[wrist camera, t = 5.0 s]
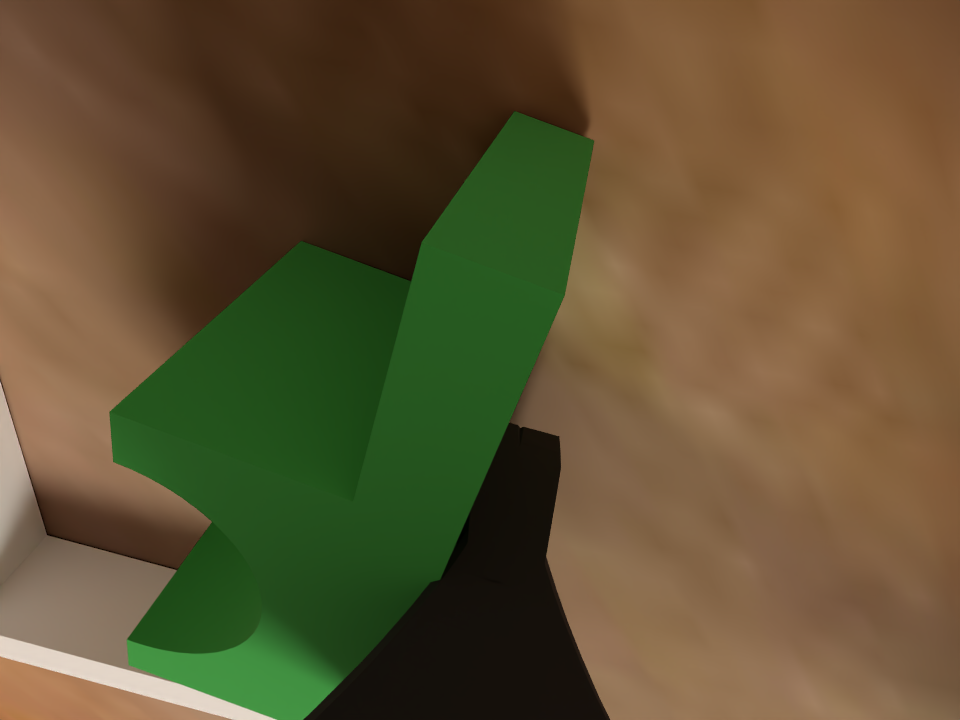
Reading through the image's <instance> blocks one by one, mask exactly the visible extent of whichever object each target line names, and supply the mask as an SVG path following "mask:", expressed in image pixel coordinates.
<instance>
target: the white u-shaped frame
mask: <svg viewBox="0 0 960 720" xmlns="http://www.w3.org/2000/svg"><path fill="white" fill-rule="evenodd" d="M176 571H177V570H174V569H170V568H167V567H163V566H159V565H156V564H152V563H148V562H144V561H141V560H137V559H133V558H130V557H126V556H122V555H118V554H115V553H111V552H107V551H104V550H100V549H96V548H93V547H89V546H85V545H81V544H78V543H74V542H70V541H67V540H63V539H59V538H55V537H52V536H48V535H47V534H46V530H45V527H44V524H43V520H42V517H41V514H40V511H39V507H38V504H37V501H36V497H35V494H34V491H33V488H32V484H31V481H30V478H29V474H28V471H27V468H26V465H25V461H24V458H23V455H22V451H21V448H20V445H19V442H18V438H17V435H16V432H15V428H14V425H13V422H12V419H11V415H10V412H9V409H8V405H7V402H6V399H5V396H4V392H3V389H2V386H1V382H0V656H1V657H4V658H8V659H12V660H15V661H19V662H23V663H26V664H30V665H34V666H37V667H41V668H45V669H49V670H52V671H56V672H60V673H63V674H67V675H71V676H74V677H78V678H82V679H85V680H89V681H93V682H97V683H100V684H104V685H108V686H111V687H115V688H119V689H122V690H126V691H130V692H133V693H137V694H141V695H145V696H148V697H152V698H156V699H159V700H163V701H167V702H170V703H174V704H178V705H181V706H185V707H189V708H193V709H196V710H200V711H204V712H207V713H211V714H215V715H218V716H222V717H226V718H229V719H233V720H276V719H273V718H271V717H268V716H265V715H262V714H260V713H257V712H254V711H252V710H249V709H246V708H243V707H241V706H238V705H235V704H232V703H230V702H227V701H224V700H222V699H219V698H216V697H213V696H211V695H208V694H205V693H203V692H200V691H197V690H194V689H192V688H189V687H186V686H184V685H181V684H178V683H175V682H173V681H170V680H167V679H165V678H162V677H159V676H156V675H154V674H151V673H148V672H146V671H143V670H140V669H137V668H135V667H132V666H129V664H128V651H127V638H128V637H129V636H130V634H131V633H132V632H133V630H134V629H135V627H136V626H137V625H138V623H139V622H140V621H141V619H142V618H143V616H144V615H145V614H146V612H147V611H148V610H149V608H150V607H151V605H152V604H153V603H154V601H155V600H156V599H157V597H158V596H159V594H160V593H161V592H162V590H163V589H164V588H165V586H166V585H167V583H168V582H169V581H170V579H171V578H172V577H173V575H174V574H175V572H176Z"/></svg>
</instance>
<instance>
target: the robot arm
mask: <svg viewBox="0 0 960 720" xmlns="http://www.w3.org/2000/svg"><path fill="white" fill-rule="evenodd" d="M560 470H561V455H560V439H559V436H555V435H552V434H548V433H544V432H541V431H537V430H533V429H530V428H526V427H522V428H520V427H519V426H518V425H515V424H512V423H509V424H508V426H507V428H506V430H505V433H504V435H503V437H502V440H501V442H500V444H499V446H498V449H497V451H496V453H495V456H494V458H493V460H492V462H491V465H490V467H489V469H488V471H487V474H486V476H485V478H484V481H483V483H482V485H481V487H480V490H479V492H478V494H477V497H476V499H475V501H474V503H473V506H472V508H471V510H470V513H469V515H468V517H467V519H466V522H465V524H464V526H463V529H462V531H461V533H460V535H459V538H458V540H457V542H456V544H455V547H454V549H453V551H452V554H451V556H450V558H449V560H448V563H447V565H446V567H445V570H444V572H443V574H442V576H441V579H440V580H438V581H433V582H430V583H429V585H428V586H427V587H426V588H425V589H424V591H423V592H422V593H421V594H420V596H419V597H418V598H417V599H416V601H415V602H414V603H413V604H412V605H411V607H410V608H409V609H408V610H407V611H406V612H405V614H404V615H403V616H402V617H401V618H400V619H399V621H398V622H397V623H396V624H395V625H394V626H393V627H392V629H391V630H390V631H389V632H388V633H387V634H386V635H385V637H384V638H383V639H382V640H381V641H380V642H379V643H378V644H377V645H376V646H375V648H374V649H373V650H372V651H371V652H370V653H369V654H368V655H367V656H366V657H365V658H364V659H363V660H362V662H361V663H360V664H359V665H358V666H357V667H356V668H355V669H354V670H353V671H352V672H351V673H350V674H349V675H348V676H347V677H346V678H345V679H344V680H343V681H342V682H341V683H340V684H339V685H338V686H337V687H336V688H335V689H334V690H333V691H332V692H331V693H330V694H329V695H328V696H327V697H326V698H325V699H324V700H323V701H322V702H321V703H320V704H319V705H318V706H317V707H316V708H315V709H314V710H313V711H312V712H311V713H310V714H309V715H308V716H306V717H305V718H304V719H303V720H610V718H609V716H608V714H607V712H606V710H605V708H604V706H603V704H602V702H601V700H600V698H599V696H598V694H597V691H596V689H595V687H594V684H593V682H592V680H591V677H590V675H589V673H588V670H587V668H586V666H585V664H584V661H583V659H582V657H581V654H580V652H579V649H578V647H577V644H576V642H575V639H574V636H573V634H572V631H571V629H570V626H569V624H568V621H567V618H566V616H565V613H564V610H563V607H562V604H561V601H560V599H559V596H558V593H557V590H556V587H555V583H554V580H553V577H552V574H551V571H550V568H549V564H548V561H547V558H546V553H547V547H548V542H549V536H550V530H551V524H552V518H553V512H554V507H555V501H556V495H557V489H558V483H559V477H560Z"/></svg>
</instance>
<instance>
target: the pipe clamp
mask: <svg viewBox="0 0 960 720" xmlns="http://www.w3.org/2000/svg"><path fill="white" fill-rule="evenodd" d="M593 145H594V140H591V139H589V138H586V137H583V136H581V135H578V134H575V133H572V132H570V131H567V130H564V129H562V128H559V127H556V126H554V125H551V124H548V123H545V122H543V121H540V120H537V119H535V118H532V117H529V116H527V115H524V114H521V113H518V112H516V111H514V113H513V114H512V115H511V117H510V118H509V120H508V121H507V123H506V124H505V125H504V127H503V128H502V130H501V131H500V132H499V134H498V135H497V137H496V138H495V140H494V141H493V142H492V144H491V145H490V147H489V148H488V149H487V151H486V152H485V154H484V155H483V156H482V158H481V159H480V161H479V162H478V164H477V165H476V166H475V168H474V169H473V171H472V172H471V173H470V175H469V176H468V178H467V179H466V180H465V182H464V183H463V185H462V186H461V188H460V189H459V190H458V192H457V193H456V195H455V196H454V197H453V199H452V200H451V202H450V203H449V205H448V206H447V207H446V209H445V210H444V212H443V213H442V214H441V216H440V217H439V219H438V220H437V221H436V223H435V224H434V226H433V227H432V229H431V230H430V231H429V233H428V234H427V236H426V237H425V238H424V240H423V241H422V243H421V247H420V251H419V254H418V258H417V262H416V266H415V270H414V273H413V277H412V281H408V280H406V279H403V278H400V277H398V276H395V275H392V274H389V273H387V272H384V271H381V270H379V269H376V268H373V267H370V266H368V265H365V264H362V263H360V262H357V261H354V260H352V259H349V258H346V257H343V256H341V255H338V254H335V253H333V252H330V251H327V250H324V249H322V248H319V247H316V246H314V245H311V244H308V243H306V242H303V241H300V242H299V243H298V244H297V245H296V246H295V247H294V248H293V249H291V250H290V251H289V252H288V253H287V254H286V255H285V256H284V257H282V258H281V259H280V260H279V261H278V262H277V263H276V264H275V265H274V266H272V267H271V268H270V269H269V270H268V271H267V272H266V273H265V274H263V275H262V276H261V277H260V278H259V279H258V280H257V281H256V282H254V283H253V284H252V285H251V286H250V287H249V288H248V289H247V290H245V291H244V292H243V293H242V294H241V295H240V296H239V297H238V298H237V299H235V300H234V301H233V302H232V303H231V304H230V305H229V306H228V307H226V308H225V309H224V310H223V311H222V312H221V313H220V314H219V315H217V316H216V317H215V318H214V319H213V320H212V321H211V322H210V323H209V324H207V325H206V326H205V327H204V328H203V329H202V330H201V331H200V332H198V333H197V334H196V335H195V336H194V337H193V338H192V339H191V340H189V341H188V342H187V343H186V344H185V345H184V346H183V347H182V348H181V349H179V350H178V351H177V352H176V353H175V354H174V355H173V356H172V357H170V358H169V359H168V360H167V361H166V362H165V363H164V364H163V365H161V366H160V367H159V368H158V369H157V370H156V371H155V372H154V373H153V374H151V375H150V376H149V377H148V378H147V379H146V380H145V381H144V382H142V383H141V384H140V385H139V386H138V387H137V388H136V389H135V390H133V391H132V392H131V393H130V394H129V395H128V396H127V397H126V398H125V399H123V400H122V401H121V402H120V403H119V404H118V405H117V406H116V407H114V408H113V409H112V410H111V411H110V426H111V439H112V452H113V462H115V463H117V464H120V465H122V466H124V467H127V468H129V469H132V470H134V471H136V472H138V473H140V474H142V475H144V476H146V477H148V478H150V479H152V480H154V481H155V482H157V483H159V484H161V485H163V486H164V487H166V488H168V489H169V490H171V491H172V492H174V493H175V494H177V495H178V496H180V497H182V498H183V499H184V500H186V501H187V502H188V503H190V504H191V505H192V506H194V507H195V508H197V509H198V510H199V511H200V512H201V513H203V514H204V515H205V516H206V517H207V518H208V519H210V520H211V521H212V523H211V524H210V526H209V527H208V528H207V530H206V531H205V533H204V534H203V535H202V537H201V538H200V539H199V541H198V542H197V544H196V545H195V546H194V548H193V549H192V550H191V552H190V553H189V555H188V556H187V557H186V559H185V560H184V561H183V563H182V564H181V566H180V567H179V568H178V570H177V571H176V572H175V574H174V575H173V577H172V578H171V579H170V581H169V582H168V583H167V585H166V586H165V588H164V589H163V590H162V592H161V593H160V594H159V596H158V597H157V599H156V600H155V601H154V603H153V604H152V605H151V607H150V608H149V610H148V611H147V612H146V614H145V615H144V616H143V618H142V619H141V621H140V622H139V623H138V625H137V626H136V627H135V629H134V630H133V632H132V633H131V634H130V636H129V637H128V638H127V651H128V664H129V666H132V667H135V668H137V669H140V670H143V671H146V672H148V673H151V674H154V675H156V676H159V677H162V678H165V679H167V680H170V681H173V682H175V683H178V684H181V685H184V686H186V687H189V688H192V689H194V690H197V691H200V692H203V693H205V694H208V695H211V696H213V697H216V698H219V699H222V700H224V701H227V702H230V703H232V704H235V705H238V706H241V707H243V708H246V709H249V710H252V711H254V712H257V713H260V714H262V715H265V716H268V717H271V718H273V719H276V720H303V719H304V718H305V717H306V716H308V715H309V714H310V713H311V712H312V711H313V710H314V709H315V708H316V707H317V706H318V705H319V704H320V703H321V702H322V701H323V700H324V699H325V698H326V697H327V696H328V695H329V694H330V693H331V692H332V691H333V690H334V689H335V688H336V687H337V686H338V685H339V684H340V683H341V682H342V681H343V680H344V679H345V678H346V677H347V676H348V675H349V674H350V673H351V672H352V671H353V670H354V669H355V668H356V667H357V666H358V665H359V664H360V663H361V662H362V660H363V659H364V658H365V657H366V656H367V655H368V654H369V653H370V652H371V651H372V650H373V649H374V648H375V646H376V645H377V644H378V643H379V642H380V641H381V640H382V639H383V638H384V637H385V635H386V634H387V633H388V632H389V631H390V630H391V629H392V627H393V626H394V625H395V624H396V623H397V622H398V621H399V619H400V618H401V617H402V616H403V615H404V614H405V612H406V611H407V610H408V609H409V608H410V607H411V605H412V604H413V603H414V602H415V601H416V599H417V598H418V597H419V596H420V594H421V593H422V592H423V591H424V589H425V588H426V587H427V586H428V585H429V583H430V582H433V581H438V580H440V579H441V576H442V574H443V572H444V570H445V567H446V565H447V563H448V560H449V558H450V556H451V554H452V551H453V549H454V547H455V544H456V542H457V540H458V538H459V535H460V533H461V531H462V529H463V526H464V524H465V522H466V519H467V517H468V515H469V513H470V510H471V508H472V506H473V503H474V501H475V499H476V497H477V494H478V492H479V490H480V487H481V485H482V483H483V481H484V478H485V476H486V474H487V471H488V469H489V467H490V465H491V462H492V460H493V458H494V456H495V453H496V451H497V449H498V446H499V444H500V442H501V440H502V437H503V435H504V433H505V430H506V428H507V426H508V424H509V421H510V419H511V417H512V414H513V412H514V410H515V408H516V405H517V403H518V401H519V398H520V396H521V394H522V392H523V389H524V387H525V385H526V382H527V380H528V378H529V376H530V373H531V371H532V369H533V367H534V364H535V362H536V360H537V357H538V355H539V353H540V351H541V348H542V346H543V344H544V341H545V339H546V337H547V335H548V332H549V330H550V328H551V325H552V323H553V321H554V319H555V316H556V314H557V312H558V309H559V307H560V305H561V303H562V300H563V298H564V296H565V291H566V286H567V281H568V275H569V270H570V265H571V260H572V255H573V249H574V244H575V239H576V234H577V228H578V223H579V218H580V213H581V208H582V202H583V197H584V192H585V187H586V181H587V176H588V171H589V166H590V161H591V155H592V150H593Z"/></svg>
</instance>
